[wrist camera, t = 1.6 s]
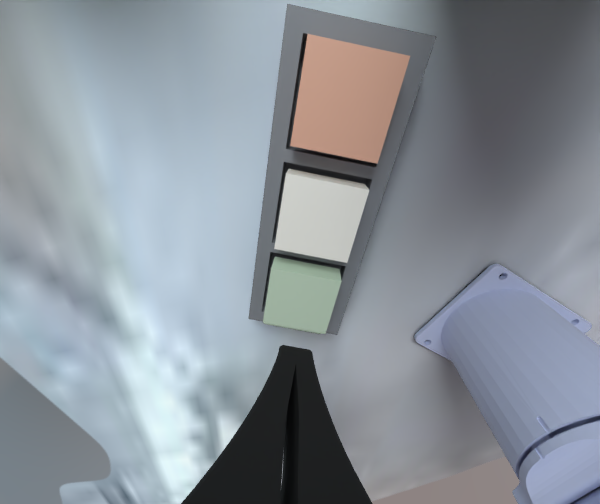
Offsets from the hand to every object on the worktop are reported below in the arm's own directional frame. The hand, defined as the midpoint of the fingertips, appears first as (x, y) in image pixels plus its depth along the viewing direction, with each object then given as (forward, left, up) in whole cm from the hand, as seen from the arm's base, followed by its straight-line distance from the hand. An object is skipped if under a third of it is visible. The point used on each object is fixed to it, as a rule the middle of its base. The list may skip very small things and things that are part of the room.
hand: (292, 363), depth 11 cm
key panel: (+2, -5, -8) cm, 9 cm away
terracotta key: (+3, -10, -6) cm, 12 cm away
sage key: (0, 0, -6) cm, 6 cm away
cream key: (+2, -5, -6) cm, 8 cm away
